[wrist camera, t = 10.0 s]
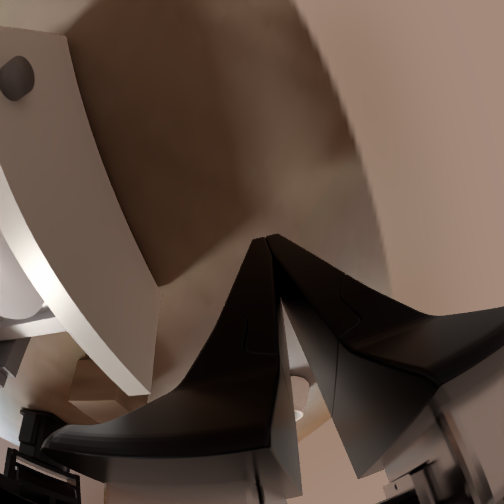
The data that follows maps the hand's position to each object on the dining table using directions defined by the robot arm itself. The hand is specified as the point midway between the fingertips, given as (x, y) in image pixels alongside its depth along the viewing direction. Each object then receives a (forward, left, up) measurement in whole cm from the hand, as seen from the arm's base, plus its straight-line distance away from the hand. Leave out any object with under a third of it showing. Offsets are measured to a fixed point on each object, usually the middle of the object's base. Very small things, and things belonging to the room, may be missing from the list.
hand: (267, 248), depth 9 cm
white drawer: (+3, +11, -3) cm, 12 cm away
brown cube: (-10, +12, -4) cm, 16 cm away
